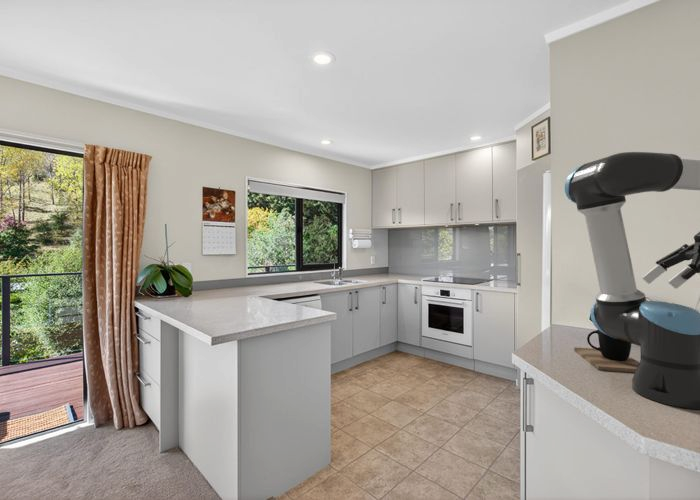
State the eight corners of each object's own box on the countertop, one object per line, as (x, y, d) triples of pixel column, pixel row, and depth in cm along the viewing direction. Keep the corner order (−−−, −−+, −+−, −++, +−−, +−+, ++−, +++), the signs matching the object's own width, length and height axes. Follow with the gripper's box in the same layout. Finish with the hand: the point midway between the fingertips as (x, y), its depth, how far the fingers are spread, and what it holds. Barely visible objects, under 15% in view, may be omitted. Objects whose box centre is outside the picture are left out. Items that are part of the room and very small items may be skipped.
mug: (629, 356, 113) (629, 326, 113) (635, 364, 105) (634, 332, 105) (586, 350, 119) (585, 322, 119) (588, 358, 111) (588, 328, 111)
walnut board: (652, 374, 100) (652, 370, 100) (597, 369, 104) (597, 366, 104) (618, 353, 119) (618, 350, 119) (574, 350, 123) (574, 347, 123)
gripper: (766, 243, 89) (696, 297, 93) (698, 244, 113) (644, 286, 118) (741, 224, 91) (673, 277, 95) (679, 229, 115) (627, 271, 119)
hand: (657, 282), depth 106 cm, fingers open, 13 cm apart
